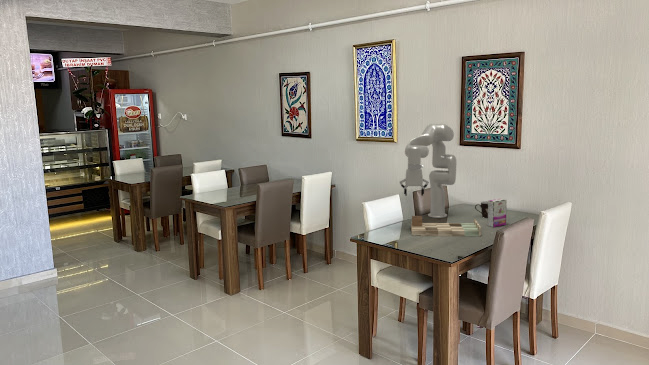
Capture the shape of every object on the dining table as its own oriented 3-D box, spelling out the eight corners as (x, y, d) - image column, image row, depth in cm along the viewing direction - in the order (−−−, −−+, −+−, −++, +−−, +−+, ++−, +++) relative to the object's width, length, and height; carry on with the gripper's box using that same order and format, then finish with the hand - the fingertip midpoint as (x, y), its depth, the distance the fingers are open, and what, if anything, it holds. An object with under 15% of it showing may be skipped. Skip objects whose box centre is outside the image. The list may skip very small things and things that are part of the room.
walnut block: (411, 223, 301) (411, 215, 301) (421, 223, 300) (421, 215, 300) (412, 226, 295) (412, 218, 295) (422, 226, 295) (422, 218, 294)
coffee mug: (495, 216, 327) (495, 201, 326) (492, 219, 320) (492, 204, 319) (477, 214, 334) (478, 200, 332) (474, 217, 326) (474, 202, 325)
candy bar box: (500, 223, 308) (500, 198, 305) (506, 225, 303) (507, 199, 301) (487, 226, 303) (487, 200, 300) (493, 227, 298) (494, 201, 296)
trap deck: (410, 227, 304) (410, 219, 303) (475, 228, 298) (475, 219, 297) (411, 235, 285) (411, 226, 284) (480, 236, 280) (480, 226, 279)
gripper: (428, 166, 293) (427, 194, 296) (399, 166, 295) (399, 194, 298) (429, 167, 286) (429, 196, 288) (399, 168, 288) (399, 196, 290)
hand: (414, 195), depth 293 cm, fingers open, 9 cm apart
